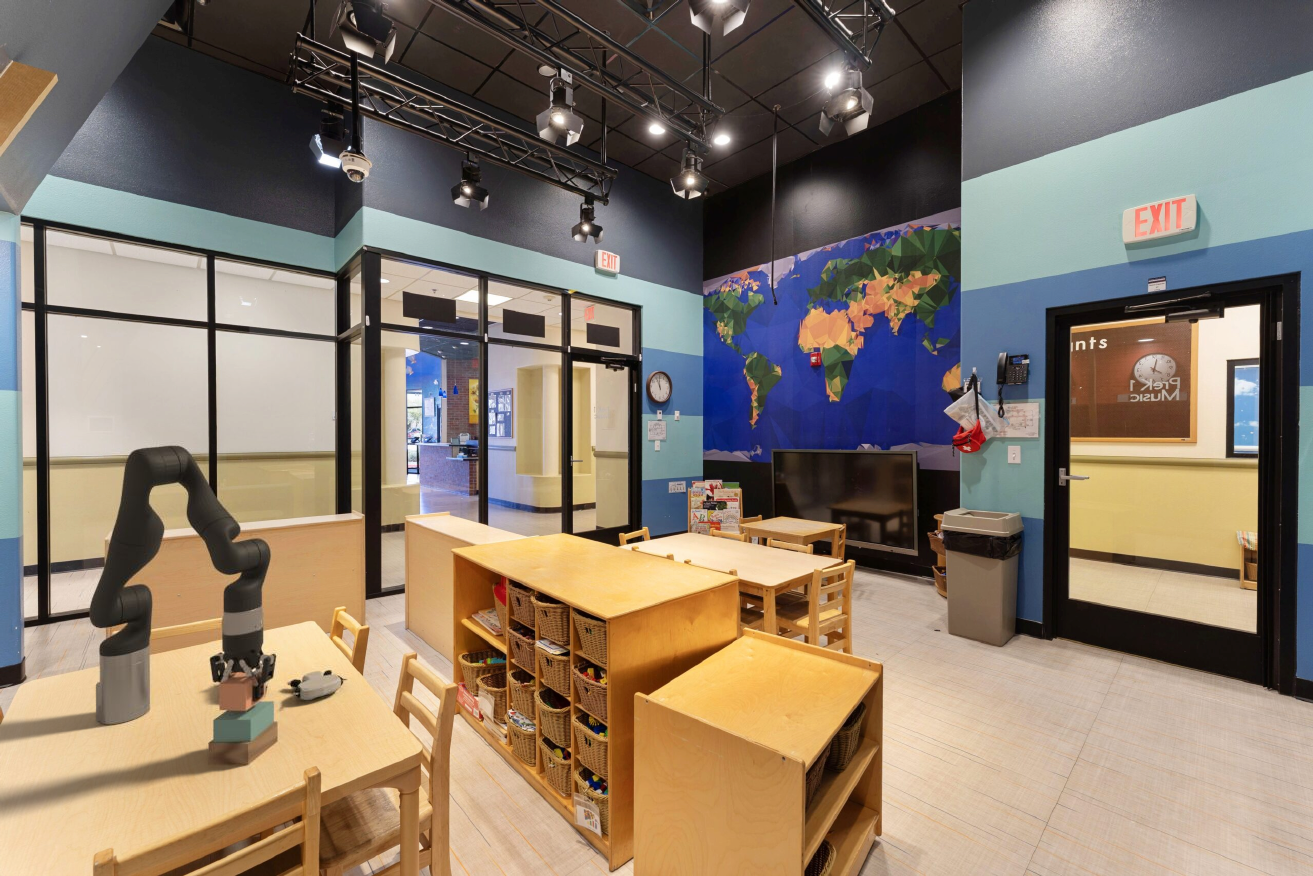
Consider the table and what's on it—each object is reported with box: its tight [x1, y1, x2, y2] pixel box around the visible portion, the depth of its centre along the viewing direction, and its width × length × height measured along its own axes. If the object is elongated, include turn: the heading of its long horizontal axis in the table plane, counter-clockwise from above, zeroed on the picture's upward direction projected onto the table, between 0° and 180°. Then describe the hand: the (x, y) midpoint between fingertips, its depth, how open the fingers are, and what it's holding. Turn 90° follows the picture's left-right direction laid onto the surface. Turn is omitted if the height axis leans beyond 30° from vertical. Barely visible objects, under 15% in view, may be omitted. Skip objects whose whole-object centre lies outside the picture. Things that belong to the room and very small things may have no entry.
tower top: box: [212, 700, 275, 742], centre depth 124 cm, size 8×8×5 cm
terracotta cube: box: [218, 672, 267, 711], centre depth 124 cm, size 6×6×6 cm
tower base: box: [207, 721, 279, 766], centre depth 124 cm, size 9×9×5 cm
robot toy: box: [286, 669, 348, 701], centre depth 153 cm, size 12×4×15 cm
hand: (243, 699), depth 124 cm, fingers closed on terracotta cube, 6 cm apart
